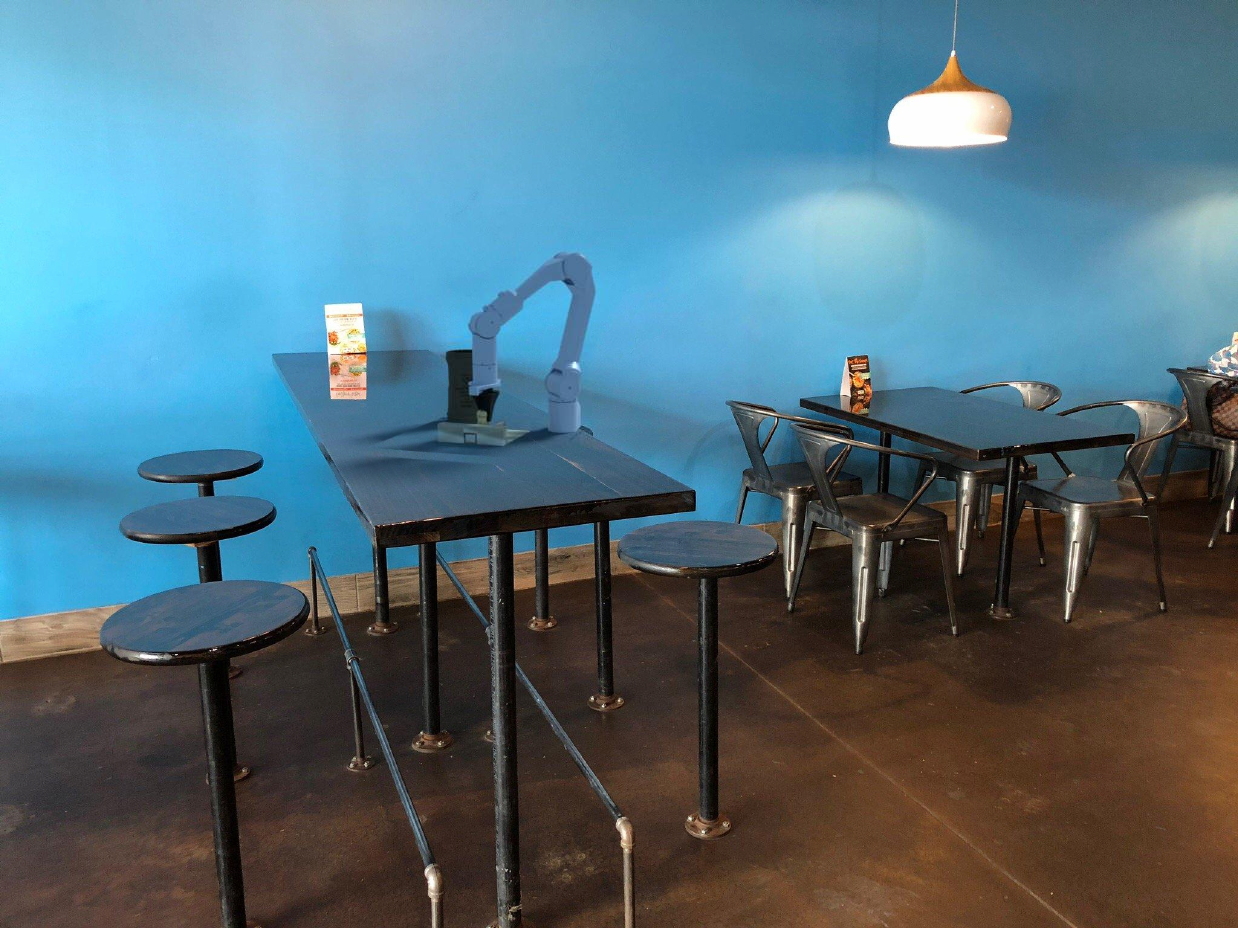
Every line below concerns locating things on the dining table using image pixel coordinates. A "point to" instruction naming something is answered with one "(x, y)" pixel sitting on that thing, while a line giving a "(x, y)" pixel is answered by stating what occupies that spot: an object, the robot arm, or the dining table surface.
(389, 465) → the dining table surface
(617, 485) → the dining table surface
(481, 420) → the bolt
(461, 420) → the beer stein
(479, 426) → the door board
